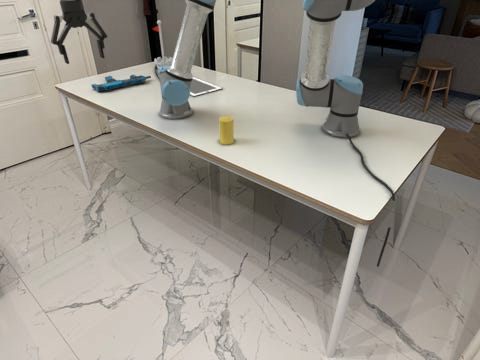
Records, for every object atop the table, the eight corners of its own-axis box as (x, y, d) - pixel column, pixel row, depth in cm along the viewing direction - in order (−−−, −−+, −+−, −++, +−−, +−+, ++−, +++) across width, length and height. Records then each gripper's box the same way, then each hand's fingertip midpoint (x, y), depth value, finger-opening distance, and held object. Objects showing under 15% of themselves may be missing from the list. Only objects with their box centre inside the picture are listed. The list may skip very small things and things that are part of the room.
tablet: (164, 83, 207) (164, 82, 207) (191, 76, 218) (191, 76, 218) (193, 96, 187) (193, 95, 187) (222, 88, 198) (222, 88, 198)
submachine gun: (137, 69, 223) (155, 75, 206) (138, 75, 225) (156, 81, 208) (84, 79, 204) (99, 87, 188) (85, 85, 206) (101, 94, 190)
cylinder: (233, 144, 139) (233, 121, 133) (219, 144, 139) (218, 121, 133) (233, 138, 144) (233, 116, 138) (220, 138, 144) (219, 116, 138)
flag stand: (171, 63, 246) (167, 18, 230) (175, 68, 236) (170, 21, 220) (153, 65, 242) (147, 19, 226) (156, 70, 232) (150, 22, 216)
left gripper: (35, 2, 112) (54, 67, 124) (108, -3, 125) (119, 56, 137) (29, 0, 117) (48, 63, 128) (100, -4, 130) (112, 53, 142)
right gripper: (306, -16, 158) (302, 33, 170) (328, -13, 138) (321, 43, 149) (321, -16, 159) (316, 32, 171) (345, -13, 139) (337, 42, 150)
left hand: (85, 60), depth 133 cm, fingers open, 13 cm apart
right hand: (318, 37), depth 160 cm, fingers open, 13 cm apart
